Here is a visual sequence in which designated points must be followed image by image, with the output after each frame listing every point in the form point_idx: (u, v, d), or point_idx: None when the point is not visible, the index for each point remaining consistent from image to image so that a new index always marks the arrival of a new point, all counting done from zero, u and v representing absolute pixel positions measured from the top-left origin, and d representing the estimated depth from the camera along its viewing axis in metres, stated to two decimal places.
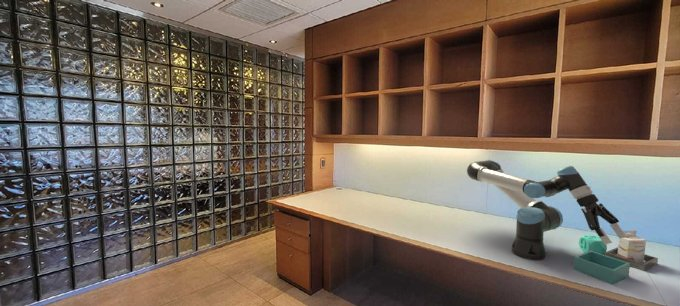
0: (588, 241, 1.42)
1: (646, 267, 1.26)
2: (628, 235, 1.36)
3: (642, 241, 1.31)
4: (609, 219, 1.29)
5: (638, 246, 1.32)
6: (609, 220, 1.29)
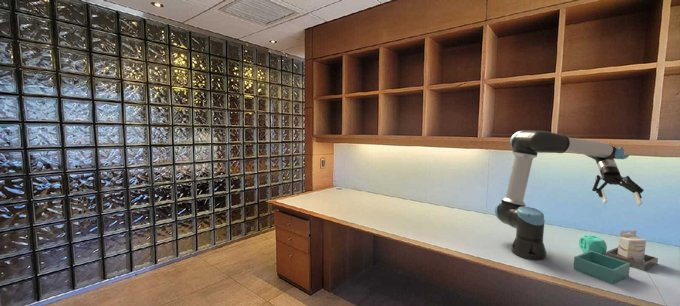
0: (588, 241, 1.42)
1: (646, 267, 1.26)
2: (628, 235, 1.36)
3: (642, 241, 1.31)
4: (602, 188, 1.49)
5: (638, 246, 1.32)
6: (602, 188, 1.48)
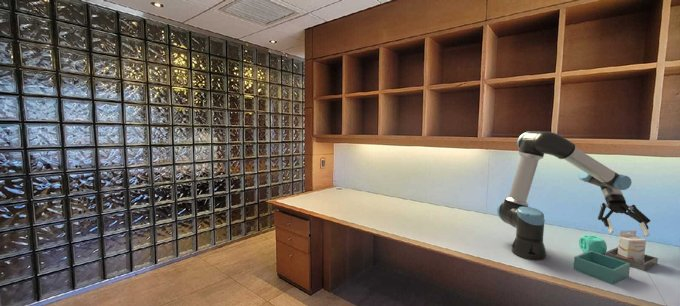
0: (588, 241, 1.42)
1: (646, 267, 1.26)
2: (628, 235, 1.36)
3: (642, 241, 1.31)
4: None
5: (638, 246, 1.32)
6: (608, 217, 1.45)
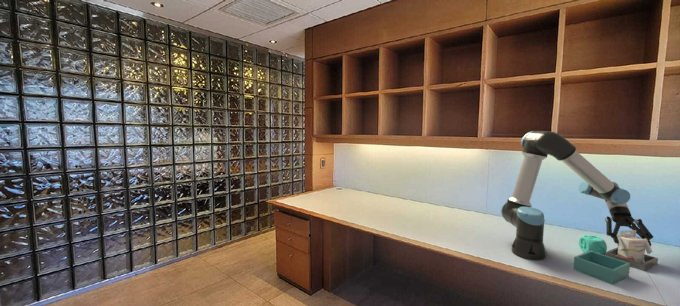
0: (588, 241, 1.42)
1: (646, 267, 1.26)
2: (628, 235, 1.36)
3: (642, 241, 1.31)
4: None
5: (638, 246, 1.32)
6: None
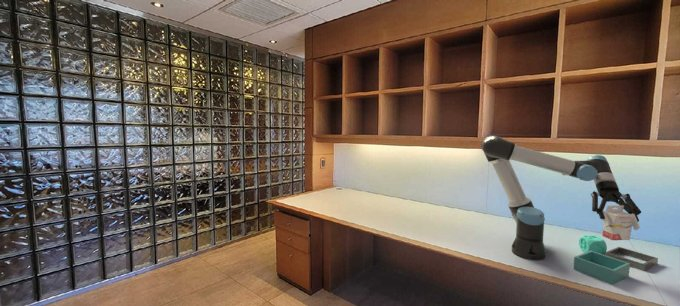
0: (588, 241, 1.42)
1: (646, 267, 1.26)
2: (615, 210, 1.26)
3: (629, 216, 1.22)
4: None
5: (625, 222, 1.22)
6: None
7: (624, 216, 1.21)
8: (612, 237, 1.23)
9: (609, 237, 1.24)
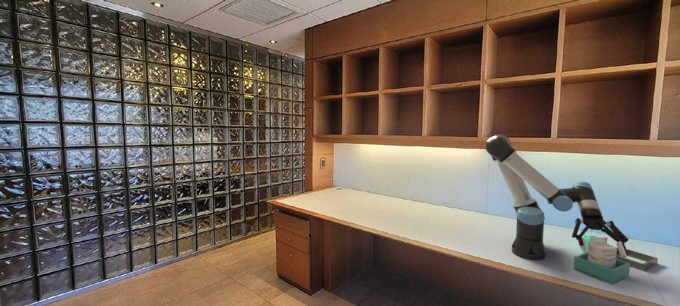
0: (588, 241, 1.42)
1: (646, 267, 1.26)
2: (599, 242, 1.26)
3: (613, 249, 1.21)
4: (583, 234, 1.29)
5: (608, 255, 1.22)
6: None
7: (607, 249, 1.21)
8: None
9: None
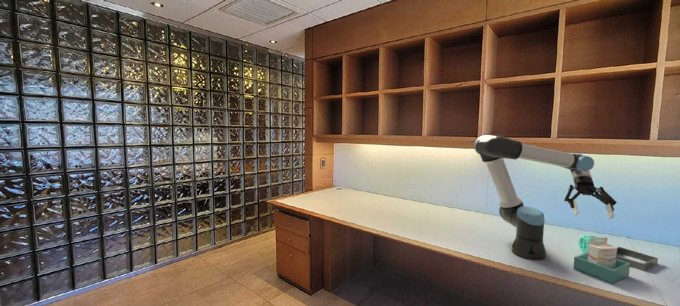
0: (588, 241, 1.42)
1: (646, 267, 1.26)
2: (599, 242, 1.26)
3: (613, 249, 1.21)
4: (574, 198, 1.41)
5: (608, 255, 1.22)
6: (574, 199, 1.41)
7: (607, 249, 1.21)
8: None
9: None
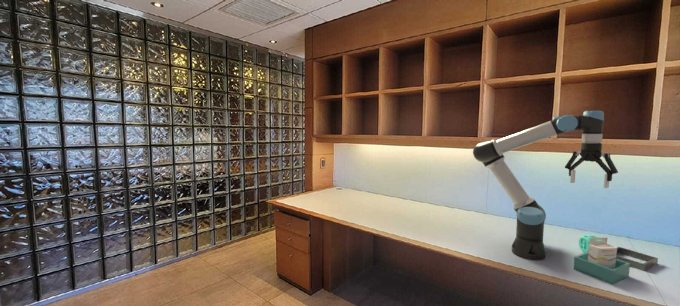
0: (588, 241, 1.42)
1: (646, 267, 1.26)
2: (599, 242, 1.26)
3: (613, 249, 1.21)
4: (576, 166, 1.42)
5: (608, 255, 1.22)
6: (575, 166, 1.42)
7: (607, 249, 1.21)
8: None
9: None
